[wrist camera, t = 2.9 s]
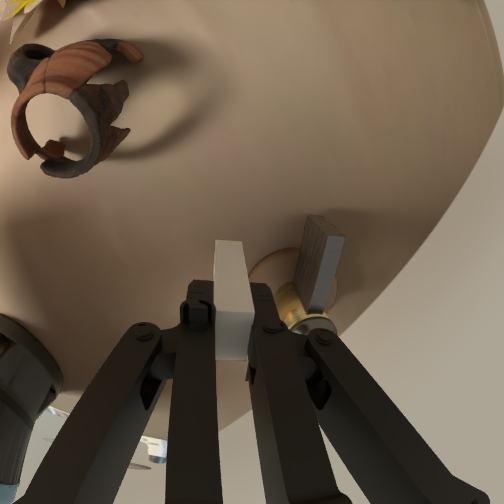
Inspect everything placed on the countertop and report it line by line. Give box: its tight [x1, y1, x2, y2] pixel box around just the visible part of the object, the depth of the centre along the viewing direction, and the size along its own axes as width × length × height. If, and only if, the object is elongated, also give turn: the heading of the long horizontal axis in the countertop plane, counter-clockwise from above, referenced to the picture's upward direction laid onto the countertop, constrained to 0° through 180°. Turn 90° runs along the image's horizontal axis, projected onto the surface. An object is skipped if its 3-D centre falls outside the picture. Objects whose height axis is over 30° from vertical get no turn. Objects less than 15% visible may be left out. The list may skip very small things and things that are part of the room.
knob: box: [274, 214, 346, 335], centre depth 19 cm, size 9×4×5 cm, turn 173°
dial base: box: [248, 248, 337, 313], centre depth 23 cm, size 8×8×2 cm
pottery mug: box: [7, 39, 143, 178], centre depth 12 cm, size 12×10×8 cm
